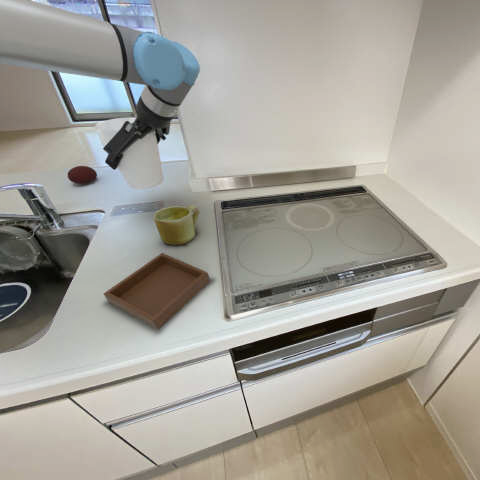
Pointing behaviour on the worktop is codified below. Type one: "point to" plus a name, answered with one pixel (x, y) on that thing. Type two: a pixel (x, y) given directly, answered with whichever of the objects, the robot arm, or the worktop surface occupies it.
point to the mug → (176, 224)
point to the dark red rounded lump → (82, 174)
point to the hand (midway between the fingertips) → (130, 156)
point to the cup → (135, 155)
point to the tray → (158, 289)
